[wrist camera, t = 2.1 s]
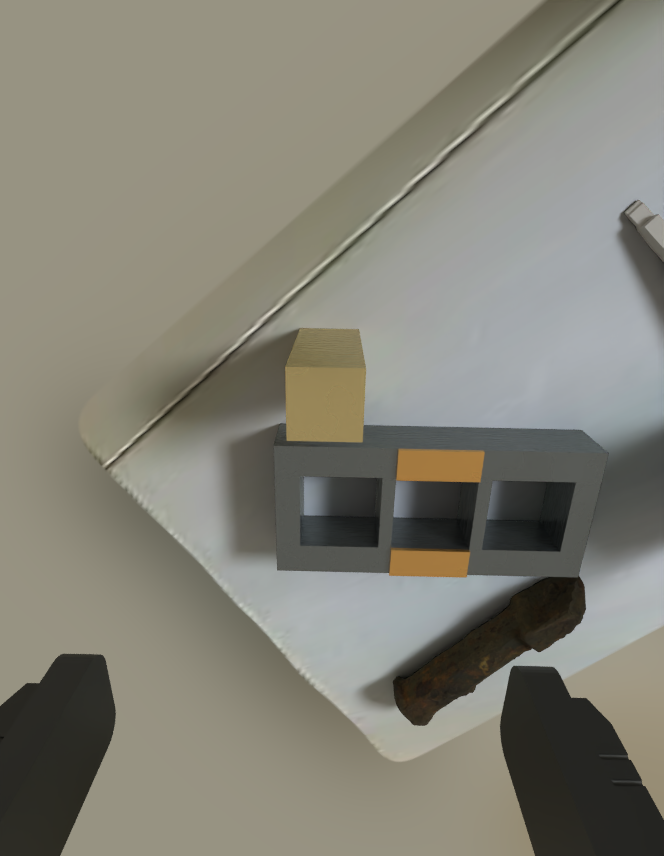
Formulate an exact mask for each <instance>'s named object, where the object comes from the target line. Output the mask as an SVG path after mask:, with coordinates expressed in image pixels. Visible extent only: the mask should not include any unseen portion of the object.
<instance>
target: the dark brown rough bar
mask: <svg viewBox="0 0 664 856" xmlns="http://www.w3.org/2000/svg"><path fill="white" fill-rule="evenodd" d="M585 610H586V604H585V587H584V584H583V582H582V580H581V578H580V577H579V575H578V577H549V578H546V579H544V580H542V581H540V582H539V583H536V584H535V585H533V586H532V587H530V588H528V589H526V590H524V591H522V592H520V593H518V594H516V595H514V596H513V597H512V598H511V599H510V605H509V606H508V607H507V608H506V609H505V610H504V611H503V612H501V613H500V614H499V615H497V616H496V617H495V618H493V619H491V620H490V621H488V622H486V623H485V624H483V625H482V626H480V627H479V628H477V629H475V630H473V631H471V632H470V633H469V634H468V635H467V636H466V637H465V638H464V639H462V640H461V641H460V642H458V643H457V644H455V645H454V646H452V647H451V648H450V649H448V650H446V651H444V652H443V653H441V654H440V655H439V656H437V657H435V658H433V659H432V660H431V661H430V662H429V663H428V664H427V665H425V666H423V667H422V668H421V669H420V670H418V671H417V672H415V673H414V674H413V675H411V676H410V677H408V678H406V679H403V678H401V677H396V678H395V680H394V681H393V685H394V696H395V701H396V704H397V706H398V708H399V710H400V712H401V713H402V714H403V715H404V716H405V717H406V718H407V719H408V720H409V721H410V722H411V723H412V724H413V725H418V726H425V725H427V724H428V723H429V721H430V720H431V719H432V717H433V715H434V714H435V713H436V712H437V711H438V710H440V709H441V708H443V707H445V706H446V705H447V704H449V703H450V702H452V701H453V700H455V699H457V698H458V697H461V696H465V695H467V694H469V693H473V692H474V690H475V688H476V685H477V684H479V683H481V682H482V681H483V680H484V679H485V678H487V677H488V676H490V675H491V674H493V673H494V672H496V671H497V670H499V669H500V668H502V667H503V666H504V665H506V664H507V663H509V662H510V661H512V660H513V659H515V658H516V657H518V656H520V655H521V654H522V653H523V652H525V651H528V650H531V649H532V648H533V649H534V650H536V651H537V652H541V651H543V650H544V649H546V648H548V647H550V646H551V645H552V644H553V643H554V642H556V641H557V640H559V639H561V638H564V637H565V636H566V634H570V633H571V632H572V631H573V630H574V628H575V626H576V625H578V624H580V623H581V620H582V619H583V615H584V613H585Z"/></svg>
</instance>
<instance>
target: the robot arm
mask: <svg viewBox="0 0 664 856" xmlns="http://www.w3.org/2000/svg"><path fill="white" fill-rule="evenodd" d="M115 715H116V713H115V704H114V700H113V695H112V690H111V685H110V680H109V675H108V670H107V665H106V661H105V658H104V656H103V655H94V654H62V655H60V656H58V657H57V658H56V659H55V661H54V662H53V664H52V665H51V667H50V668H49V670H48V671H47V673H46V674H45V676H44V677H43V679H42V680H41V682H40V683H27V684H25V685H24V686H23V687H22V688H21V689H20V690H18V691H17V692H16V693H15V694H14V695H13V696H11V697H10V698H9V699H8V700H7V701H6V702H4V703H3V704H2V705H1V706H0V856H60V855H61V852H62V850H63V848H64V845H65V844H66V841H67V839H68V837H69V834H70V832H71V830H72V828H73V825H74V823H75V821H76V819H77V816H78V814H79V812H80V810H81V807H82V805H83V803H84V801H85V798H86V796H87V794H88V792H89V789H90V787H91V785H92V782H93V780H94V778H95V776H96V774H97V771H98V769H99V767H100V764H101V762H102V760H103V757H104V755H105V753H106V751H107V749H108V746H109V744H110V741H111V738H112V735H113V730H114V725H115ZM500 732H501V743H502V748H503V753H504V757H505V760H506V763H507V767H508V770H509V773H510V776H511V779H512V783H513V786H514V789H515V792H516V796H517V799H518V802H519V805H520V808H521V812H522V815H523V818H524V821H525V825H526V827H527V831H528V834H529V837H530V841H531V844H532V847H533V850H534V853H535V856H664V820H663V818H662V816H661V814H660V812H659V810H658V809H657V807H656V805H655V803H654V801H653V800H652V798H651V796H650V794H649V792H648V790H647V789H646V787H645V786H643V785H642V780H641V778H640V776H639V774H638V772H637V770H636V768H635V766H634V765H633V763H632V761H631V760H629V759H628V754H627V752H626V750H625V748H624V746H623V744H622V743H621V741H620V739H619V737H618V735H617V733H616V732H615V730H614V728H613V726H612V724H611V723H610V722H609V721H608V720H607V719H606V718H605V717H604V716H603V715H602V714H601V713H600V712H599V711H598V710H597V709H596V708H595V707H594V706H593V705H592V704H591V702H590V701H589V700H587V699H586V698H571V697H570V695H569V693H568V691H567V689H566V687H565V685H564V683H563V680H562V678H561V676H560V675H559V673H558V671H557V670H556V669H555V668H553V667H540V666H513V667H512V669H511V671H510V676H509V681H508V686H507V691H506V696H505V701H504V706H503V711H502V716H501V724H500Z"/></svg>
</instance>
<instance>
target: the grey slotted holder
mask: <svg viewBox="0 0 664 856" xmlns="http://www.w3.org/2000/svg"><path fill="white" fill-rule="evenodd" d="M608 454H609V453H608V452H607V451H606V450H604V449H603V448H602V447H601V446H600V445H599V444H597V443H596V442H595V441H594V440H593V439H592V438H590V437H589V436H588V435H587V434H586V433H584V432H583V431H582V430H557V429H511V428H464V427H418V426H372V425H363V442H319V441H287V436H286V424H280V426H279V429H278V433H277V436H276V440H275V443H274V477H275V512H276V547H277V570H286V571H328V572H371V573H389V576H428V577H467V575H498V576H540V577H578V575H579V571H580V567H581V563H582V559H583V555H584V551H585V547H586V543H587V539H588V535H589V531H590V527H591V523H592V519H593V515H594V511H595V507H596V503H597V499H598V495H599V491H600V487H601V483H602V479H603V475H604V471H605V467H606V463H607V458H608ZM304 476H313V477H358V478H377V486H376V503H375V517H340V516H304ZM396 480H398V481H443V482H462V485H461V493H460V501H459V508H458V516H457V519H428V518H393V512H394V499H395V485H396ZM492 481H537V482H547V487H546V492H545V497H544V502H543V507H542V512H541V517H540V521H515V520H487V513H488V507H489V501H490V494H491V488H492Z"/></svg>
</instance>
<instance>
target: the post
mask: <svg viewBox="0 0 664 856" xmlns="http://www.w3.org/2000/svg"><path fill="white" fill-rule="evenodd" d="M365 379H366V366H365V360H364V355H363V349H362V343H361V338H360V332H359V329H317V328H300V330H299V332H298V335H297V338H296V340H295V343H294V345H293V348H292V351H291V353H290V356H289V358H288V361H287V364H286V366H285V380H286V436H287V441H319V442H363V424H364V401H365Z"/></svg>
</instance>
